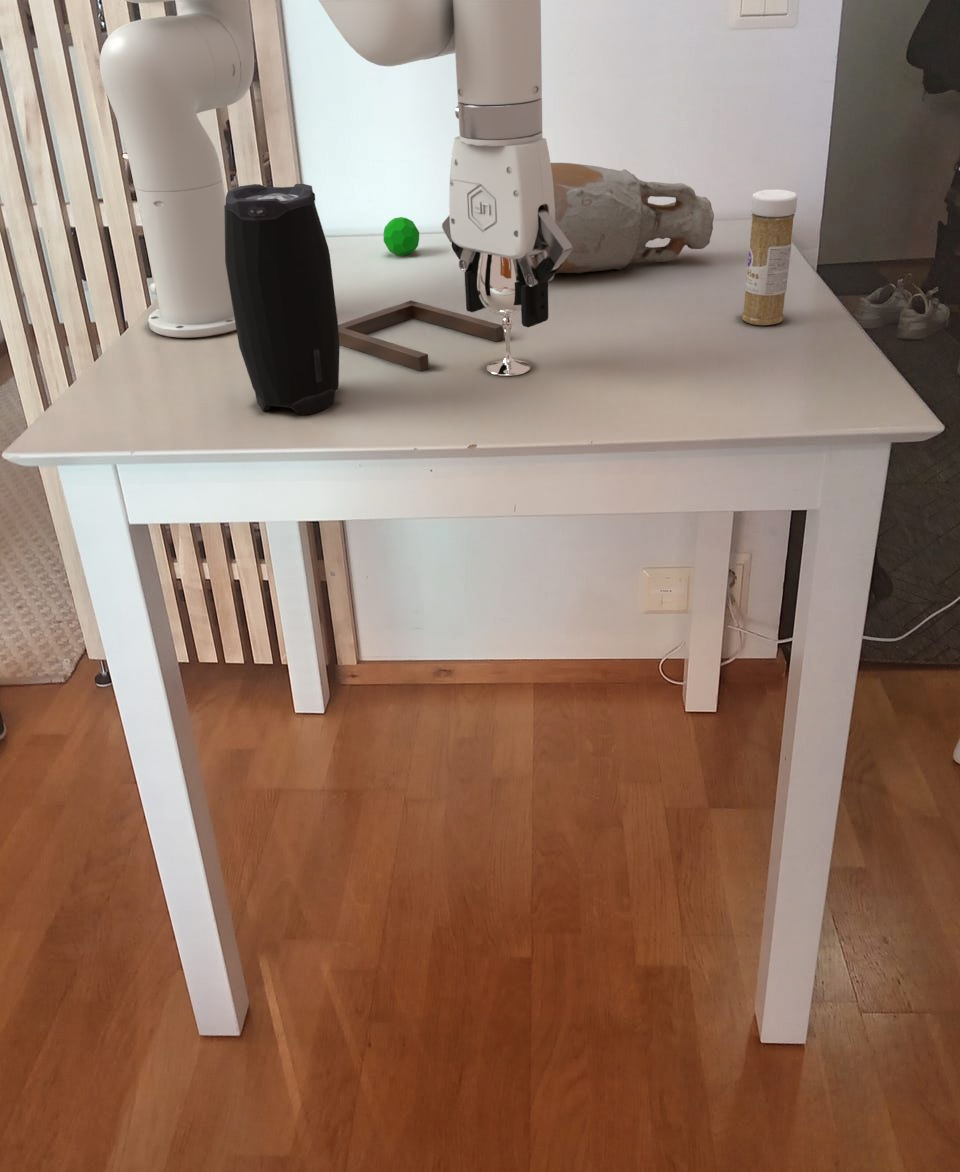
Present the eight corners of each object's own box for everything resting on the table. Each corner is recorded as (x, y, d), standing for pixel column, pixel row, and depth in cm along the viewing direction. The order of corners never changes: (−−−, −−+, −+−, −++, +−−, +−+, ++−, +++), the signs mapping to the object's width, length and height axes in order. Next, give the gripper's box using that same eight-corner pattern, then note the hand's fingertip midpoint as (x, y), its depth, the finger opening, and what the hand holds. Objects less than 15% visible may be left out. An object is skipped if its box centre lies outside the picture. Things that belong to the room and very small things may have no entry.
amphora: (454, 165, 134) (688, 103, 133) (480, 280, 145) (697, 223, 144) (467, 211, 124) (721, 144, 123) (495, 330, 135) (727, 270, 134)
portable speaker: (243, 394, 106) (207, 187, 95) (335, 379, 108) (310, 175, 98) (258, 425, 99) (221, 206, 89) (356, 408, 101) (332, 193, 91)
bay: (328, 341, 118) (327, 327, 117) (412, 312, 125) (411, 300, 125) (420, 371, 109) (419, 357, 108) (504, 338, 116) (503, 325, 115)
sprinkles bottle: (734, 316, 119) (744, 190, 112) (772, 311, 120) (784, 186, 113) (753, 329, 115) (765, 199, 108) (791, 324, 116) (806, 195, 109)
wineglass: (531, 379, 106) (529, 256, 99) (474, 377, 107) (469, 256, 100) (540, 359, 110) (539, 240, 104) (486, 357, 112) (481, 240, 105)
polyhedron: (423, 249, 150) (421, 214, 147) (417, 258, 145) (414, 222, 143) (389, 249, 150) (385, 214, 148) (381, 259, 146) (377, 223, 144)
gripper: (405, 120, 99) (419, 309, 109) (544, 136, 89) (547, 344, 98) (462, 109, 104) (471, 291, 113) (602, 123, 93) (599, 323, 103)
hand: (506, 314), depth 106 cm, fingers open, 6 cm apart
